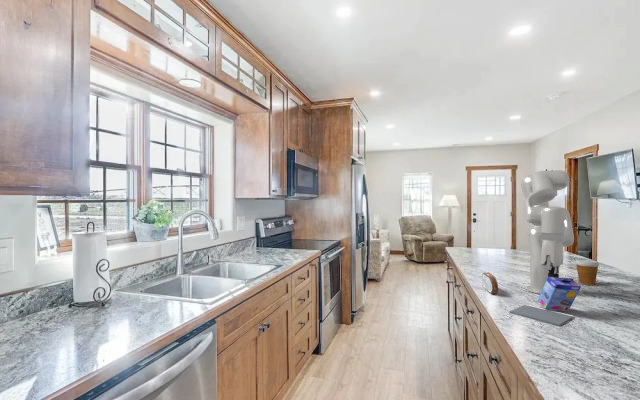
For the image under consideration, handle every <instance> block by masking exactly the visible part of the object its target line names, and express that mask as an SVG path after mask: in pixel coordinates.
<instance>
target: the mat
mask: <svg viewBox="0 0 640 400" xmlns="http://www.w3.org/2000/svg"><path fill="white" fill-rule="evenodd" d="M509 313H510V314H513V315H515V316H521V317H523V318H528V319H532V320H535V321H539V322H543V323H547V324H549V325H554V326H557V327H561V326H562V325H564V324H566V323H567V322H570V320H573V318H574V315H573V314H568V313H563V312H561V311H557V310H547V309H545V308H544V307H539V306H534V305H530V304H523V305H521V306H519V307H517V308H514V309H512V310H510V311H509Z"/></svg>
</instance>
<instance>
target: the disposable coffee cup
mask: <svg viewBox="0 0 640 400" xmlns="http://www.w3.org/2000/svg"><path fill="white" fill-rule="evenodd" d="M574 263H575V264H576V270H577V277H578V282H579V283H578V284H580V283H581V284H582V285H584V284H585V285H584V286H596V283H597V276H598V268H599V266H600V264H599V262H598V261H596V260H592V259H575V262H574Z"/></svg>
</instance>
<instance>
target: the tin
mask: <svg viewBox="0 0 640 400" xmlns="http://www.w3.org/2000/svg"><path fill="white" fill-rule="evenodd" d="M481 278H482V286H483V288H484V290H485V291H487V292H488V293H489V294H491V295H497V294H498V292H499V285H498V280H497V278H496V276H494V275H493V274H492V273H491V272H490V271H489V272H483V273H482V275H481Z"/></svg>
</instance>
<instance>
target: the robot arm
mask: <svg viewBox="0 0 640 400" xmlns="http://www.w3.org/2000/svg"><path fill="white" fill-rule="evenodd" d="M569 180H570V179H569V175H568V173H567V172H566V171H564V170H560V169H559V170H557V169H556V170H540V171H535V172H534V173H533V174H528V175H525V176H524V177H523V178H522V179H521V183H520V185H521V189H522V194H523V196H524V197H525V201H524V203H523V211H524V218H525V220H526V222H527V223H529V224H531V225H533V226H531V227H529V228H528V231H527V236H528V237H527V238H528V243H529V256H530V257H529V259H530V260H529V264H530V265H529V266H530V270H529V271H530V272H529V273H530V276H529V277H530V280H529V281H530V285H528V286H526V290H527V292H529V293H530V292H531V293H534V294H537V295H540V294H541V292H542V290H543V288H544V285H545V283H546V281H547V278H548V277H558V278H560V268H561V267H560V266H562V265H563V264H564V247H566V248H567V247H571V246H572V245H573V244H574V242H575V236H574V229H573V223H572V219H571V214H570V212H569V210H568V209H567V208H565V207H560V206H550V204H549V202H551V201H552V200H554V199H555V198H556V195H557V191H561V190H564V189H566V188H567V187H568V186H569V182H570V181H569Z"/></svg>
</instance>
